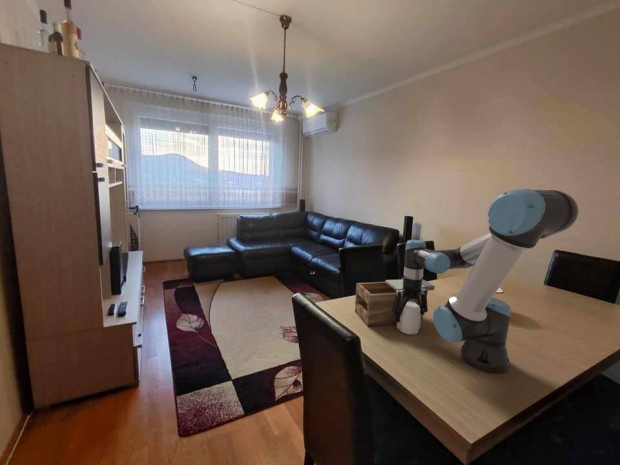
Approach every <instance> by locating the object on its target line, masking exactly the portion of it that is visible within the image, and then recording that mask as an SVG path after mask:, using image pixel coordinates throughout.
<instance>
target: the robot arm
mask: <svg viewBox="0 0 620 465" xmlns="http://www.w3.org/2000/svg"><path fill="white" fill-rule="evenodd" d="M487 217H488V219H487V221H488V224H489V226H488V232H486V233H485V234H483V235H481V236H479V237H477V238H475V239H473V240H471V241H469V242H467V243H465V244H463V245H461V246H459V247H457V248H454V249H441V250H440V249H439V250H432V249H430V248H429V249H428V248H427V246H426V242H425V241H424V240H419V239H409V240H407V241H406V245H405V250H404V252H405V253H404V267H403V276H402V278H403V288H402V290H399V291H398V290H396V291H395V293H396V296H395V300H394V304H393V308H392V312H393V313H394V314H395V315H396V321H397V325H396V328H397V330H399V331H400V330H401V329H402V317H403V316H402V315H401V314H402V312H403V309H404V307H405V306H406V304H407V302H408V301H409V299H414V300H415V303H416V304H417V305H418V306H419V307H420V318H419V329H418V330H420V329H421V325H422V324H421V323H422V321H423V318H424V316H425V314H426V313H428V311H429V309H428V307H429V305H428V291H429V290H428V291H427V290H425V289H424V288H423V289H421V287H422V279H423V277H424V269H426V271H427V270H428V271H429V272H432V273H434V274H440V275H441V274H444V273H445V272H447V271H448V270H457V269H460V270H461V269H464V270H465V269H469V268H472V269H471V270H470V272H469V273H468V275H467V277H466V279H465V281H464V282H463V284H462V286H461V288H460V290H458V293H457V292H456V293H453V294H452V295H450V297H449V298H448V300H447V302H446V304H444V305H439V306H437V307H436V308H435V309H434V310H433V313H432V320H433V323H434V328H435V329H436V331H437V333H438V334H439V336H440V337H441V338H442V339H444V340H445V341H447V342H450V343H454V342H456V343H460V342H463V344H462V345H461V346H460V353H459V355H460V357H461V359H462V360H463V361H464V362H465V363H466V364H468V365H470V366H472V367H474V368H475V369H477V370H480V371H483V372H488V373H492V374H502V373H506V372H507V371H508V370H509V368H510V358H509V356H508V351H507V350H508V349H507V339H508V332H509V326H510V319H511V316H512V315H511V310H512V309H511V307H510V305H509V304H508V303H507V302H505V301H503V300H501V299H497V298H495V297H494V296H495V294H496V293H497V291H498V290H499V289H500V287H501V285H502V284H503V282H504V280H506V278H507V277H508V275H509V274H510V272H511V271H512V270H513V267H514V266H515V264H516V263H517V262H518V260H519V259H520V257H521V256H522V254H523V252H524V251H525V250H531V249H534V248H535V246H536V245H537V244H538V242H539V241H540V240H542V239H546V238H548V237H551V236H553V235H556V234H559V233H561V232H564V231H566V230H568V229H569V228H571V227H572V226H573V225H574V224H575V223H576V221H577V219H578V217H579V206H578V204H577V202H576V200H575V198H573V197H572V196H571V195H570V194H568V193H567V192H563V191H562V190H561V191H560V190H556V189H555V190H554V189H544V190H543V189H530V188H520V189H511V190H507V191H505V192H503V193H501V194H499V195H498V196H496V198H495V199H494V200H493V201H492V202H491V204H490V206H489V208H488V210H487ZM402 293H403V296H402ZM420 293H421V302H422V305H421V302H420V298H419V294H420ZM401 296H402V300H401ZM400 300H401V302H400Z"/></svg>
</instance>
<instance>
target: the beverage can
mask: <svg viewBox="0 0 620 465" xmlns="http://www.w3.org/2000/svg"><path fill="white" fill-rule="evenodd" d="M401 315H402V316H403V317H402V329H401V330H399V331H400V332H401V333H403V334H405V335H416V334H418V333H419V330H420V329H419V318H420V307H419V306H418V305H417V304H416V303H415V302H411V301H408V302H407V304H406V306H405V307H404V309H403V312H402V314H401Z"/></svg>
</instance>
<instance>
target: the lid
mask: <svg viewBox="0 0 620 465" xmlns="http://www.w3.org/2000/svg"><path fill="white" fill-rule="evenodd" d="M384 282H386V283H387V284H388V285H390V286H391V287H392V288H394V289H395V290H398V291H399V290H402V288H403V279H402V278H401V279H385V281H384ZM423 288H424V289H425V290H427V291H434V290H435V288H436V287H435V285H434V284H432V283H430V282H428V281H426V280H424V279H423V278H422V287H421V289H423Z"/></svg>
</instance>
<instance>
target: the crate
mask: <svg viewBox="0 0 620 465" xmlns="http://www.w3.org/2000/svg"><path fill="white" fill-rule="evenodd" d="M401 279H403V277H401ZM355 286H356V287H355V302H354V303H355V304H354V312H355V314H357V316H358V317H359V318H360V320H361V321H363V323H364V325H366V327H367V328H370V327H371V328H373V327H382V326H383V327H384V326H397V321H396V315H395V314H394V313H393V312H392V308H393V304H394V300H395V296H396V293H395V291H396V290H395V289H394V288H392V287H391V286H390V285H388V284H387V283H386V282H385V281H373V282H370V281H369V282H356V285H355ZM402 296H403V293H402ZM402 296H401V300H402ZM419 298H420V302H421V293H420V294H419ZM401 300H400V302H401ZM409 301H411V302H415V300H414V299H409ZM421 305H422V302H421Z"/></svg>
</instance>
